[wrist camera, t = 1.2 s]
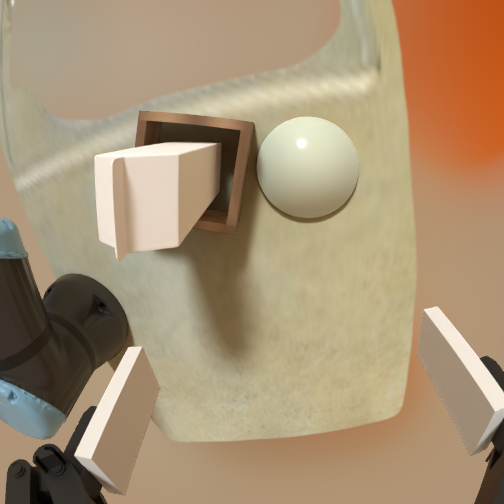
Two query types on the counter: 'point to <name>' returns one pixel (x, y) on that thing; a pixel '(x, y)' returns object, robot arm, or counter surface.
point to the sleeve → (229, 220)
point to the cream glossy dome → (307, 167)
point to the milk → (154, 193)
